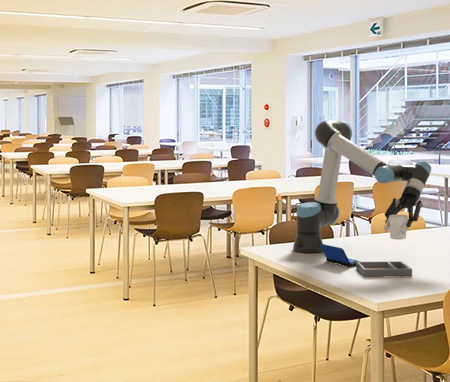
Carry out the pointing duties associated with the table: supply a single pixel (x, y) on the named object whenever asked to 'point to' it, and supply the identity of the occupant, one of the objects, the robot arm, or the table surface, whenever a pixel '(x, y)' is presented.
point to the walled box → (383, 268)
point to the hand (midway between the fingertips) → (394, 231)
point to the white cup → (397, 226)
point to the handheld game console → (337, 256)
